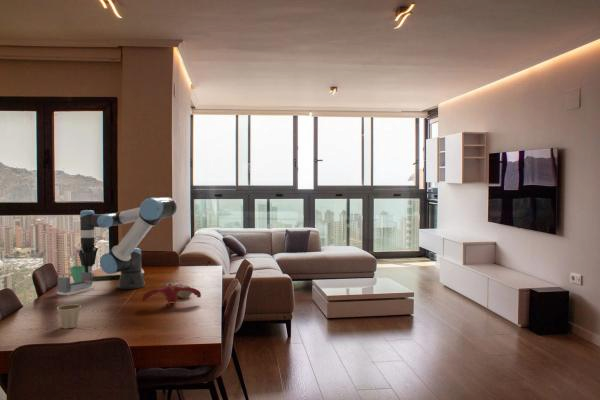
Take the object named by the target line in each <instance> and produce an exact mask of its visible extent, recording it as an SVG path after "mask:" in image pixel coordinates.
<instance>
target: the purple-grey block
mask: <svg viewBox="0 0 600 400" xmlns="http://www.w3.org/2000/svg"><path fill="white" fill-rule="evenodd" d="M81 280H82V282H78V284H82V283H86V282H93V275H92V272H81Z"/></svg>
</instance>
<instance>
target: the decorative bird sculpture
mask: <svg viewBox="0 0 600 400" xmlns="http://www.w3.org/2000/svg"><path fill="white" fill-rule="evenodd" d="M189 287H190V286H189ZM189 287H188V288H187V287H185V288H182V287H177V286H168V287H166V288H165V287H163V288H157V289H156V288H155V289H152V290H150V291H147V292H146V293H144V294H143V295H142V302H145V301H147V299H149V298H150V297H151V296H152V295H155V294H157V293H164V294H166V297H165V298H164V299H165V301H167V303H168V307H170V306H171V305H170V303H174V306H177V304H176V302H177V300H178V299H179V298H180V297H178V296H177V293H178V292H180V291H184V290H185V291H189V292H192V293H191V294H193V295H194V296H196V297H197V298H200V299H201V296H202V293H201V291H200V290H198V289H197V288H194V287H190V288H189Z"/></svg>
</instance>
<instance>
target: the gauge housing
mask: <svg viewBox="0 0 600 400" xmlns="http://www.w3.org/2000/svg"><path fill="white" fill-rule="evenodd" d="M79 282H82V281H79ZM92 282H93V281H89V282H86V283H82V284H78V282H71V277H68V276H57V292H56V294H57V295H62V296H66V295H67V297H68V296H71V295H76V294H80V293H83V292H84V293H85V292H89V291H93V290H95V286H93V285H92V284H93V283H92Z"/></svg>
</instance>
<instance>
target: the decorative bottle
mask: <svg viewBox="0 0 600 400" xmlns="http://www.w3.org/2000/svg"><path fill="white" fill-rule="evenodd" d="M168 286H177V287H182V288H185V287H187V288H188V287H189V288H191V287H190V286H189V285H186V284H183V283H179V282H176V281H171V282H169V283H165V284H164V288H166V287H168ZM192 294H193V293H192V292H189V291H185V290H184V291H180V292H178V293H177V297H179V298H181V299H184V300H186V299H188V298H190V296H191V295H192Z"/></svg>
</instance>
